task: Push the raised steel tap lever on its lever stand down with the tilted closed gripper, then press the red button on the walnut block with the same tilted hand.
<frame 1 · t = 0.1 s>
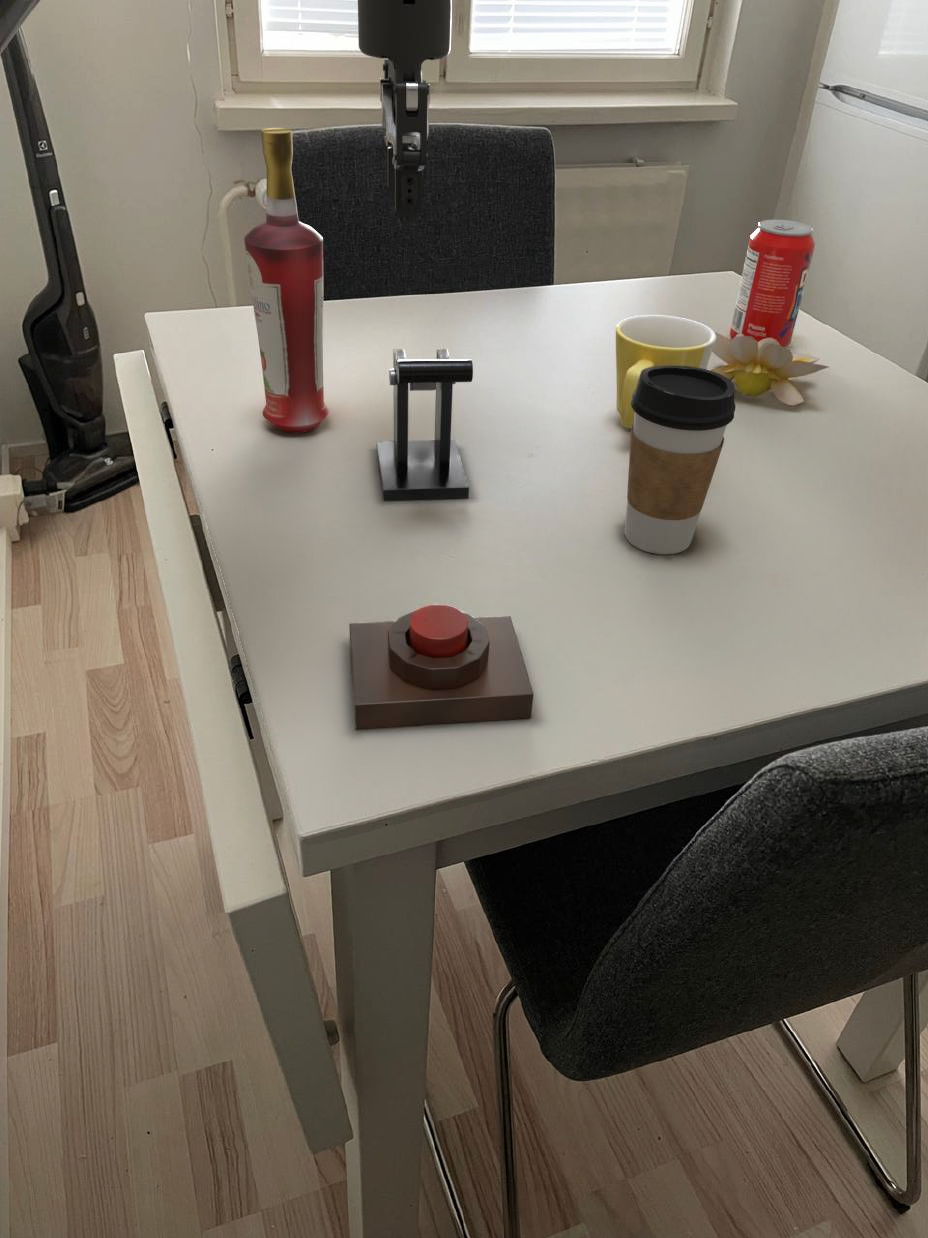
hand: (403, 203, 85), 23 cm above the table, tool pointing down, fingers open, 8 cm apart
mug: (641, 430, 104), on the table
tap lever: (428, 374, 83), point 12 cm above the table, hinge at 25.0°
soda can: (757, 346, 126), on the table
decorative flower: (758, 393, 113), on the table
coffee cup: (657, 538, 86), on the table
button: (438, 631, 66), point 4 cm above the table, slide at 0.1 cm
liquor: (296, 425, 101), on the table
button block: (437, 681, 68), on the table
lever stand: (420, 474, 93), on the table
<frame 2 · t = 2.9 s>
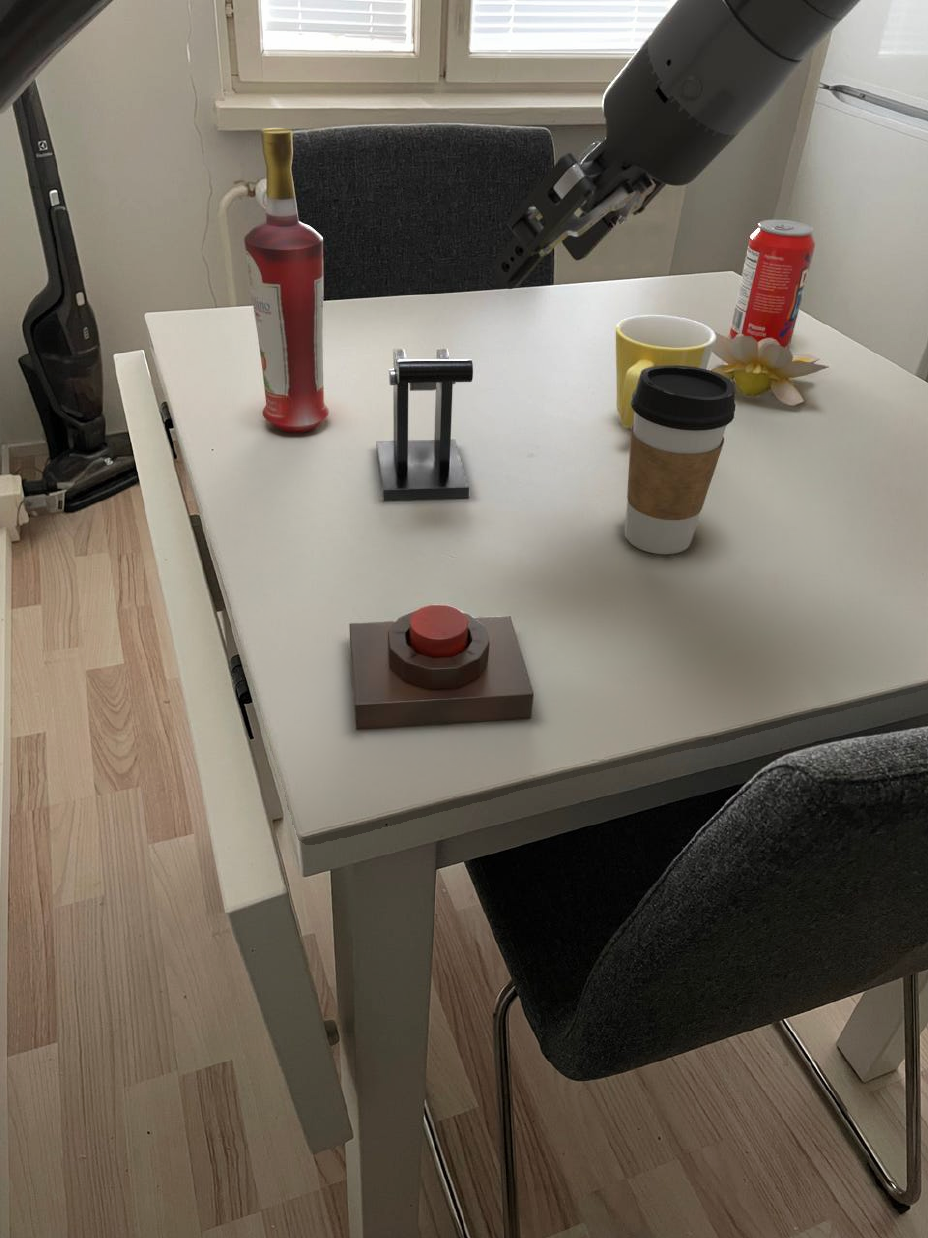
hand: (537, 263, 67), 25 cm above the table, tool tilted 40°, fingers open, 8 cm apart
nothing on the table moved.
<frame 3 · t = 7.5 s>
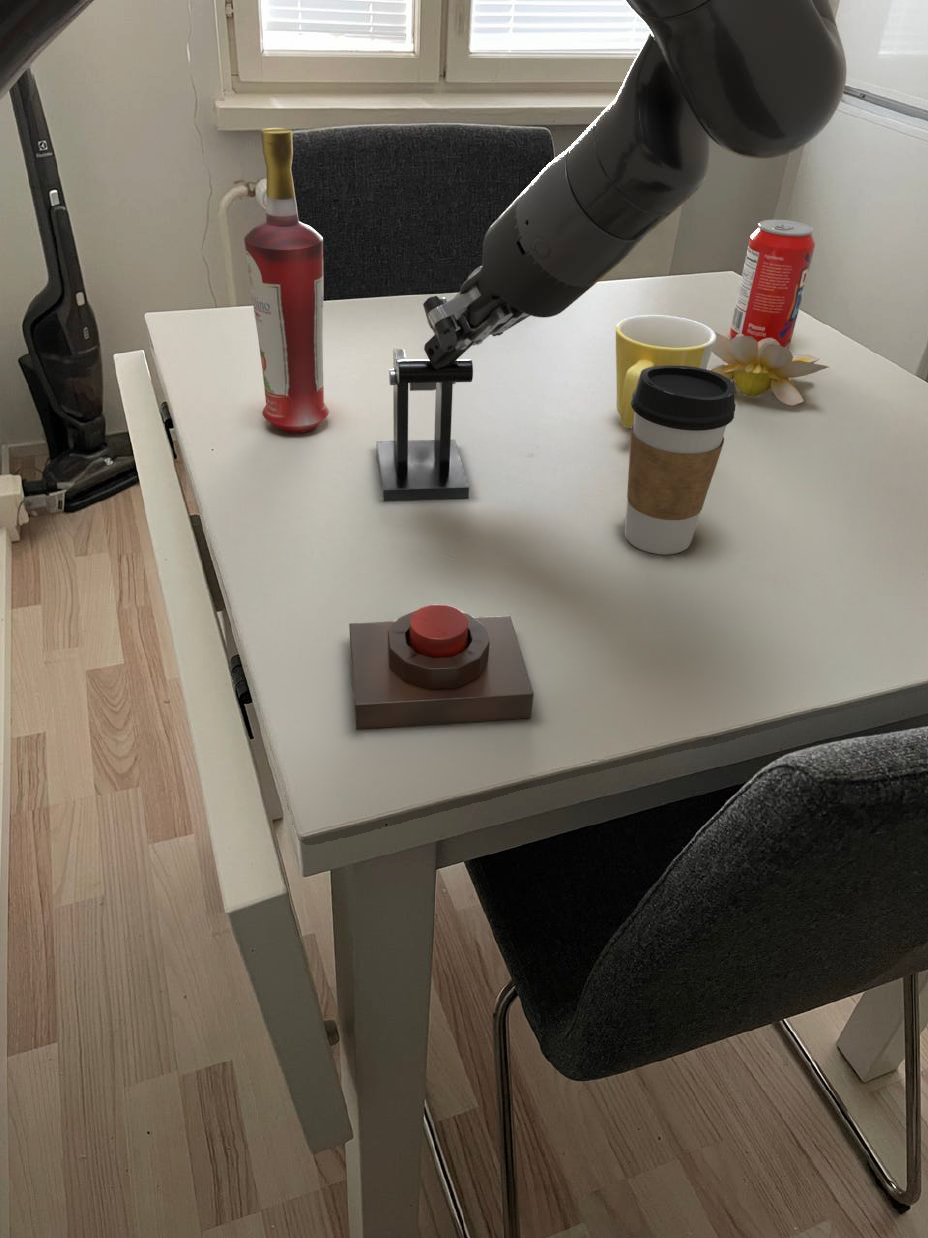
hand: (435, 356, 76), 16 cm above the table, tool tilted 45°, fingers closed
tap lever: (428, 374, 83), point 12 cm above the table, hinge at 25.0°, touching gripper
everything else where it was.
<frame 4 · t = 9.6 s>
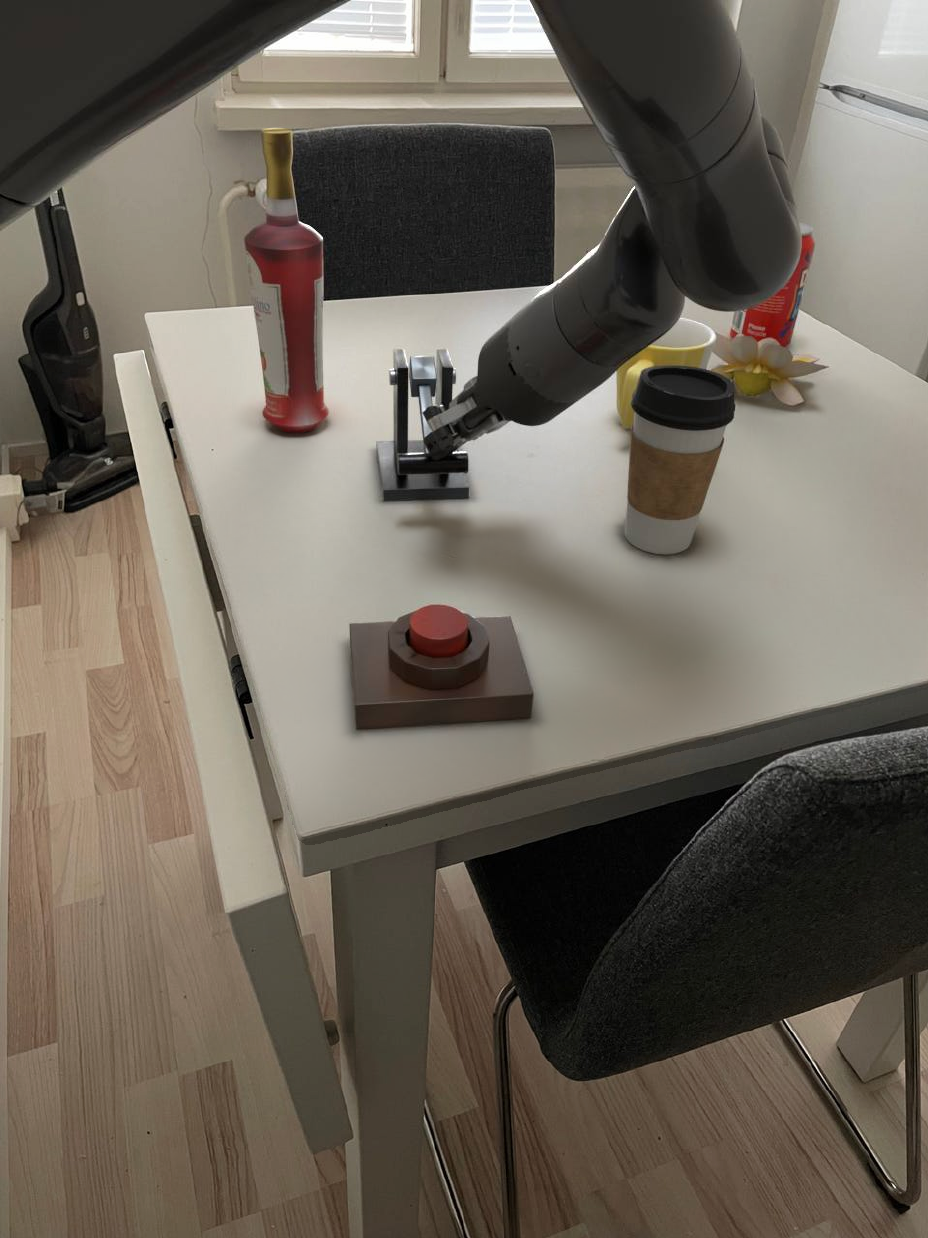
hand: (434, 448, 82), 7 cm above the table, tool tilted 45°, fingers closed
tap lever: (427, 416, 85), point 8 cm above the table, hinge at -24.0°, touching gripper
everything else where it was.
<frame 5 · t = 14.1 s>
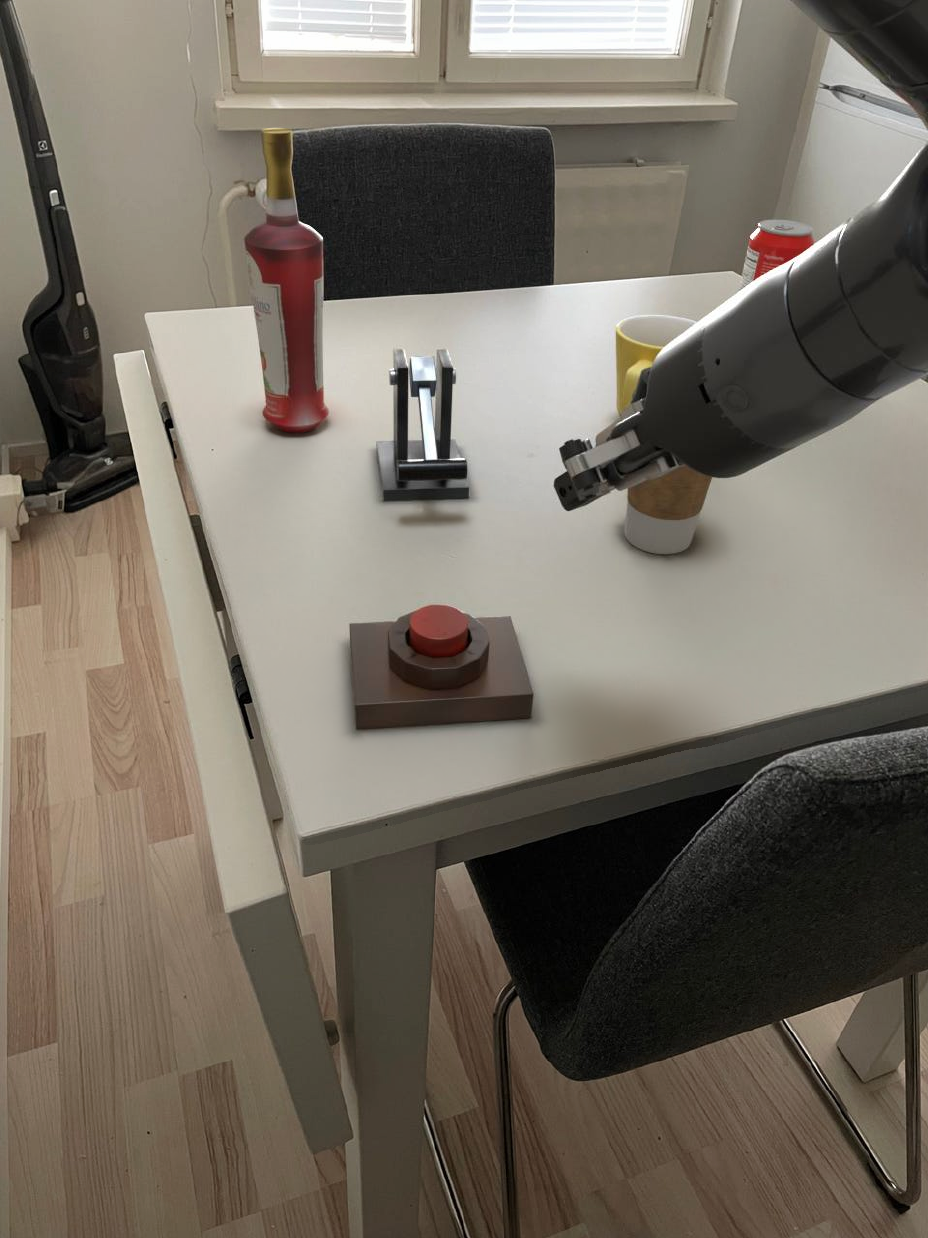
hand: (567, 494, 59), 16 cm above the table, tool tilted 45°, fingers closed
tap lever: (426, 419, 85), point 8 cm above the table, hinge at -29.5°
everything else where it was.
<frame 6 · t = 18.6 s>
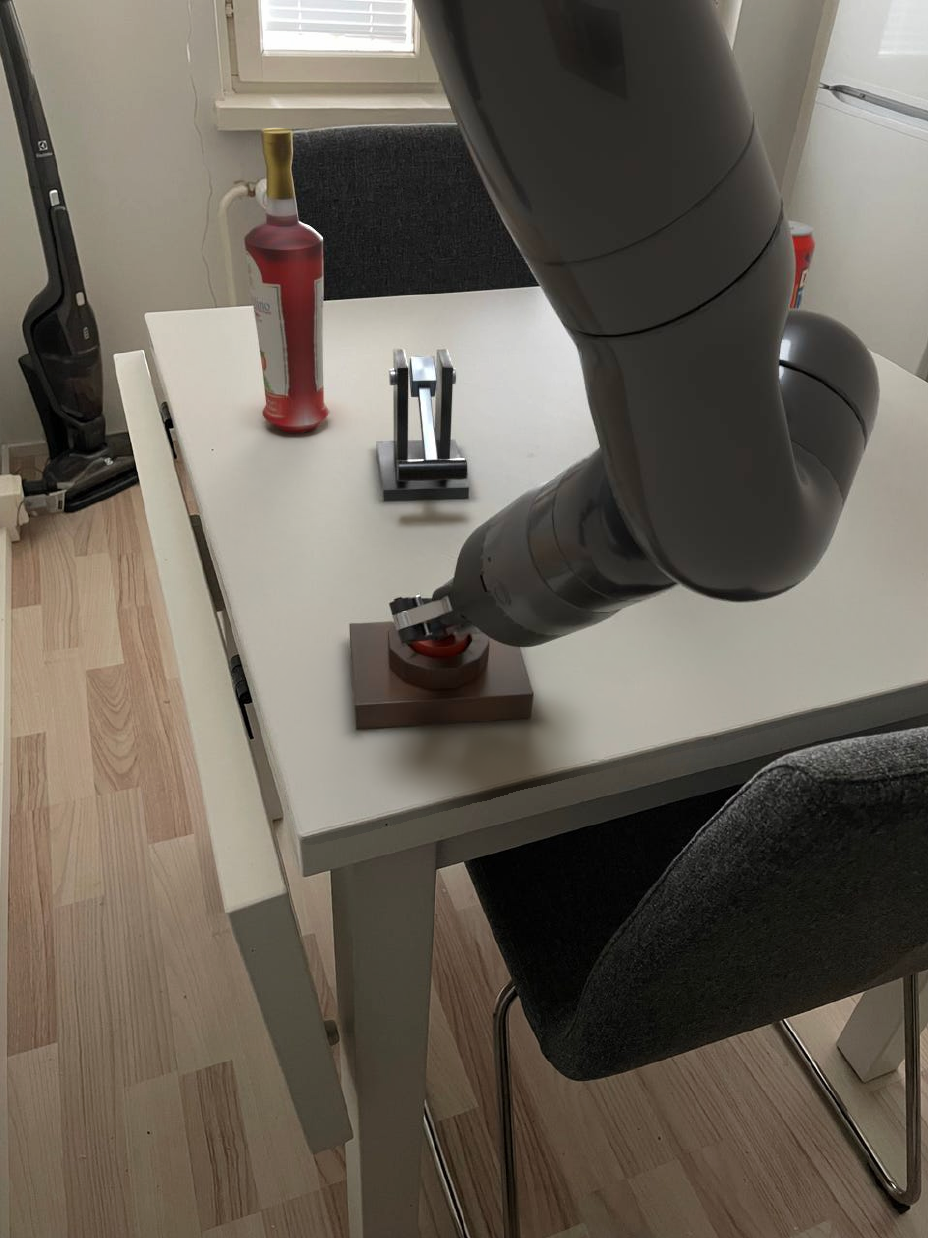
hand: (440, 623, 65), 5 cm above the table, tool tilted 45°, fingers closed
button: (438, 639, 66), point 4 cm above the table, slide at -0.6 cm, touching gripper
everything else where it was.
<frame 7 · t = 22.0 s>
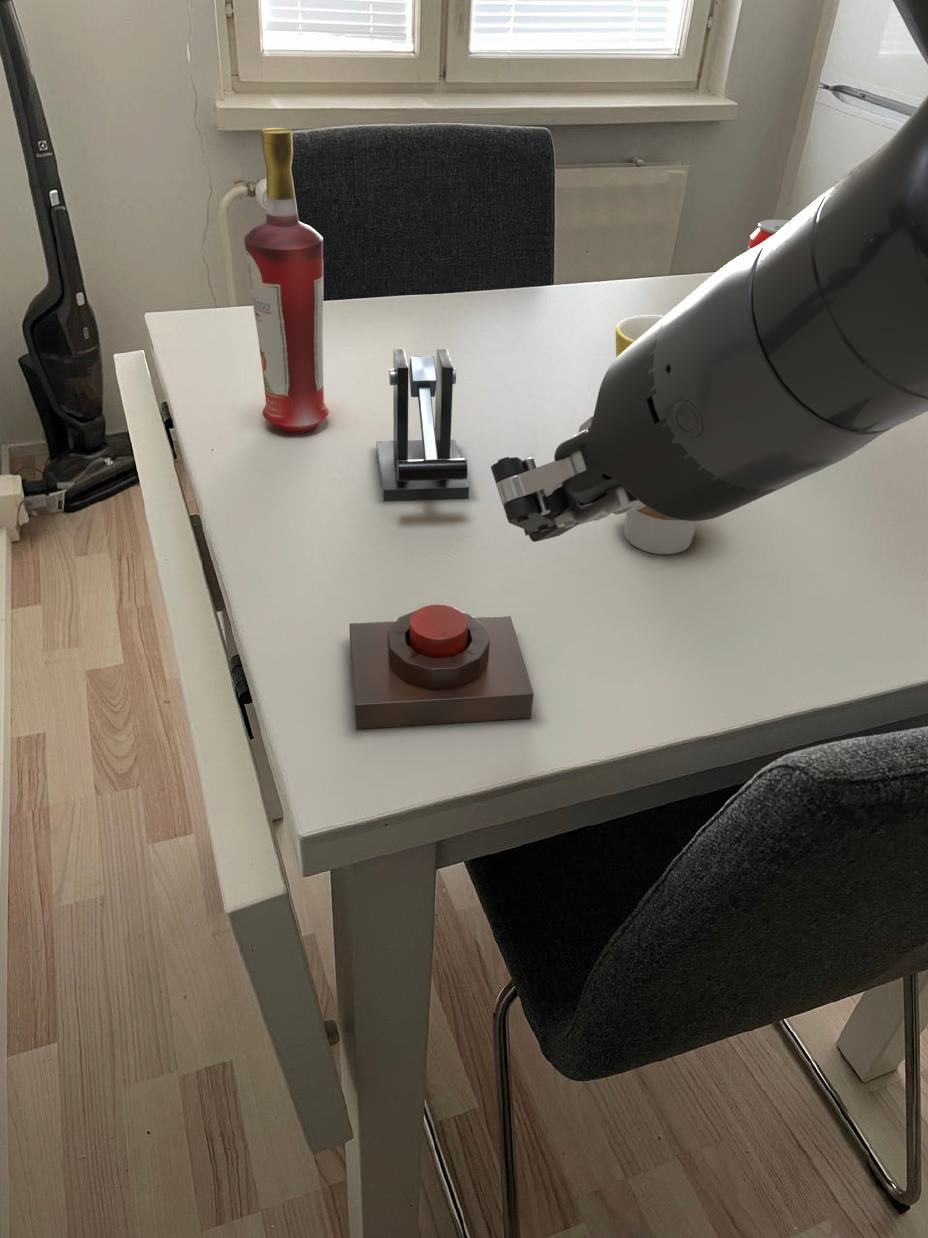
hand: (536, 520, 49), 19 cm above the table, tool tilted 45°, fingers closed
button: (438, 631, 66), point 4 cm above the table, slide at 0.1 cm
everything else where it was.
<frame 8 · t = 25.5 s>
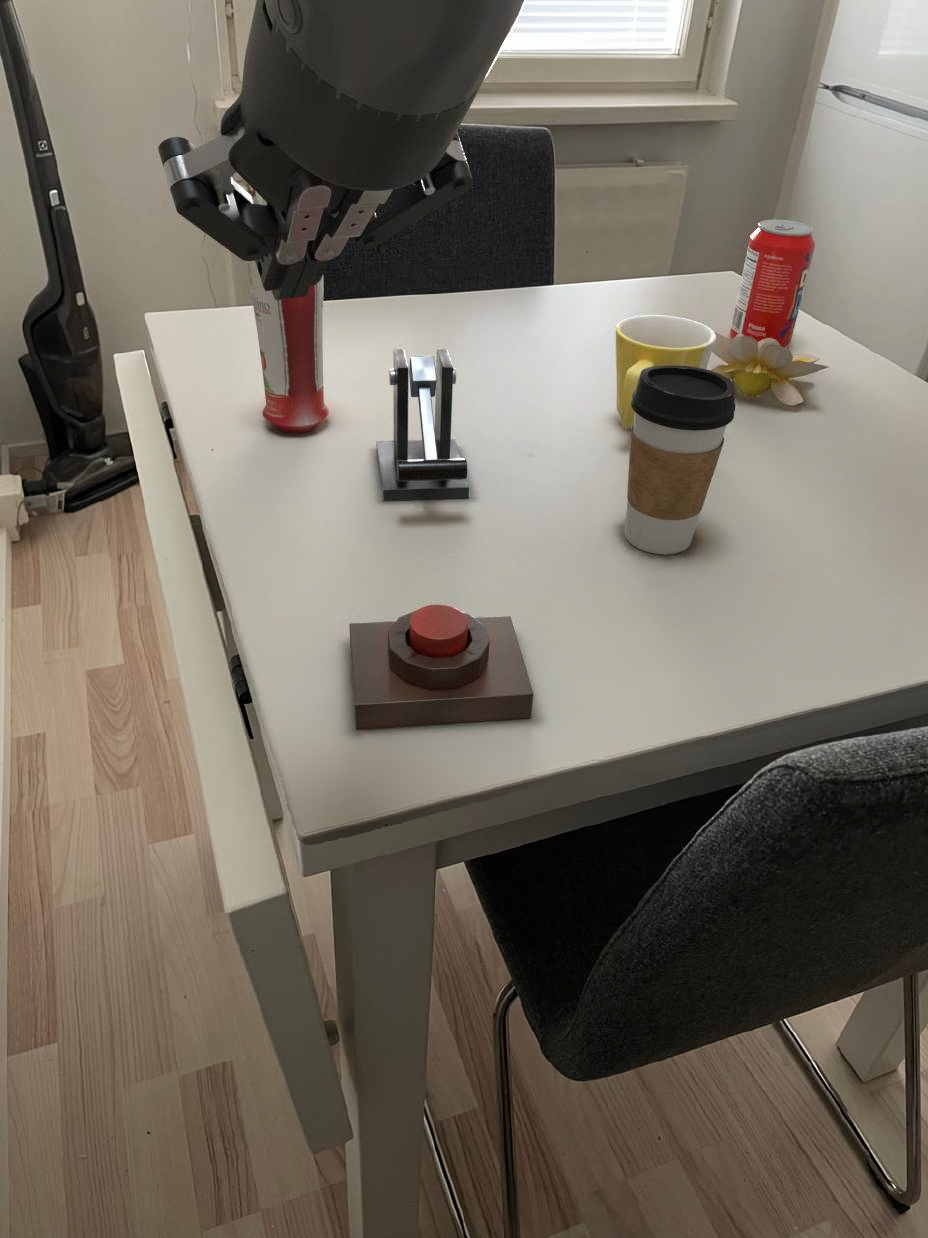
hand: (283, 280, 45), 30 cm above the table, tool tilted 45°, fingers closed
nothing on the table moved.
at the end: tap lever at -30° (first picture: +25°); button pushed in 1.3 cm at the most during the clip, back to where it started at the end; button slide at 0.1 cm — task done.
